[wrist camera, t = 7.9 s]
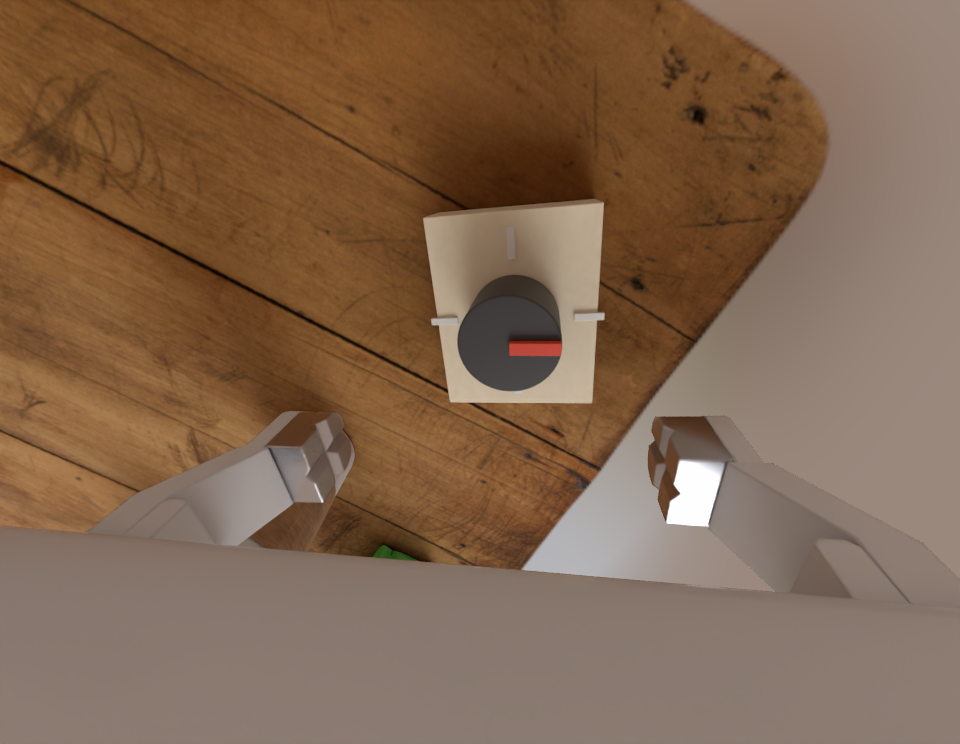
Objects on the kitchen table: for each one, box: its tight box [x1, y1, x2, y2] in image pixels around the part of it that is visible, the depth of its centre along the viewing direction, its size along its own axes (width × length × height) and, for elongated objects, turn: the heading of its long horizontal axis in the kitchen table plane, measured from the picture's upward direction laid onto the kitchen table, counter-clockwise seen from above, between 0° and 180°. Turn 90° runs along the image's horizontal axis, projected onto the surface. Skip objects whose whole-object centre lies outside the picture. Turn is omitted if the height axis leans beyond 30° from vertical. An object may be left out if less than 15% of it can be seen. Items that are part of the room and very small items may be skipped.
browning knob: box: [457, 275, 562, 391], centre depth 17 cm, size 4×4×4 cm
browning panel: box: [423, 199, 605, 403], centre depth 20 cm, size 10×9×3 cm
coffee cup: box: [237, 430, 355, 552], centre depth 22 cm, size 8×8×15 cm
